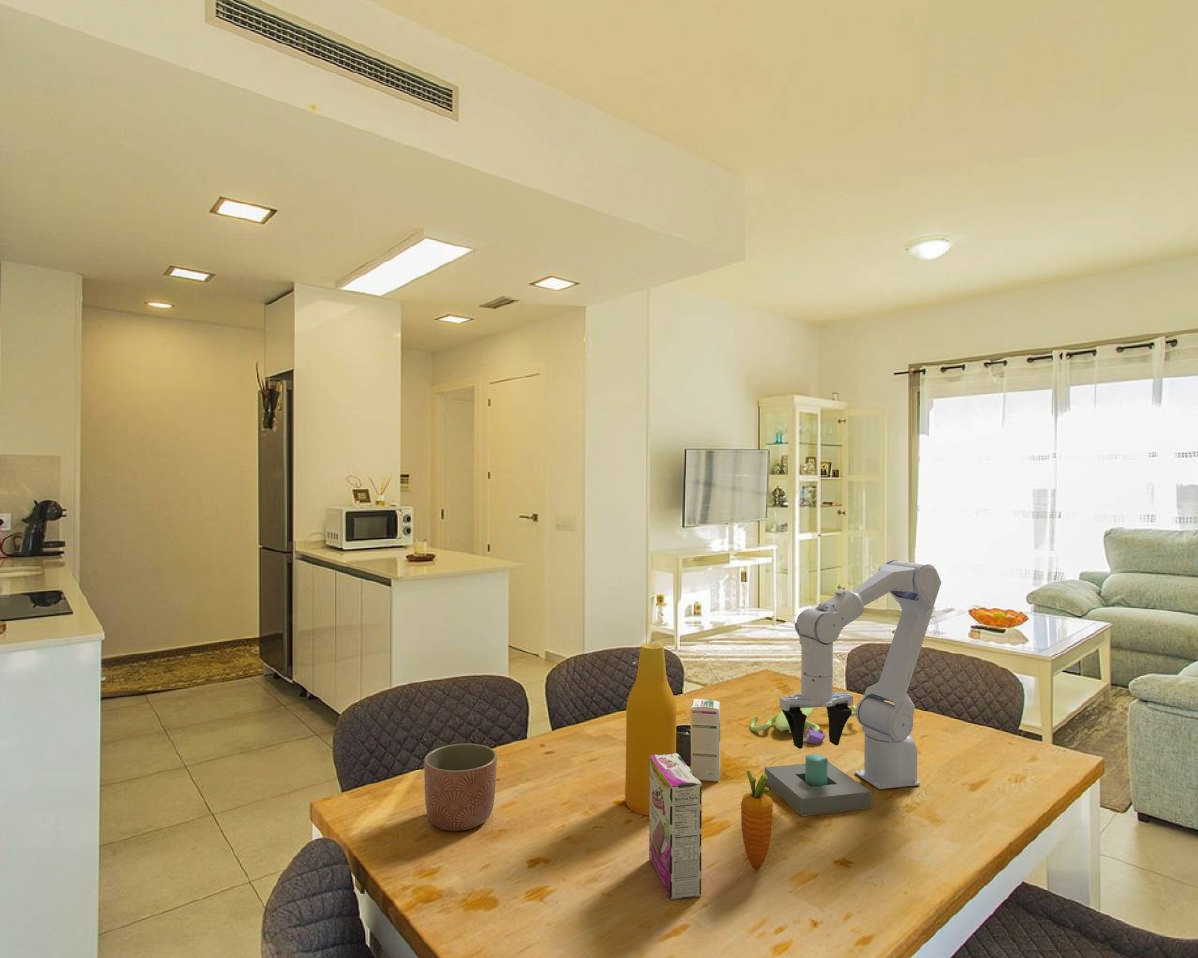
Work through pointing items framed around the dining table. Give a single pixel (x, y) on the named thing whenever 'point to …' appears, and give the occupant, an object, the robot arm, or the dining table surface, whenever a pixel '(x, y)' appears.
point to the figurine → (782, 724)
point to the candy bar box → (675, 825)
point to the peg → (816, 770)
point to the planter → (460, 785)
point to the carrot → (756, 821)
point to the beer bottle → (648, 725)
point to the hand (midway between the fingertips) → (816, 745)
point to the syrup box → (705, 739)
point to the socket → (817, 790)
